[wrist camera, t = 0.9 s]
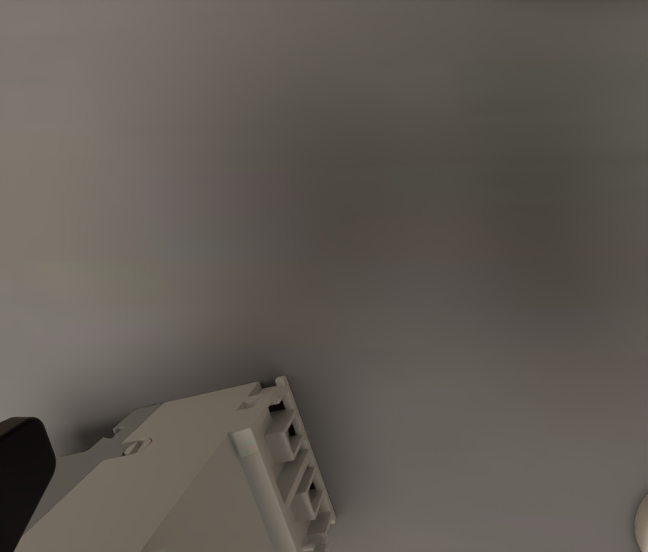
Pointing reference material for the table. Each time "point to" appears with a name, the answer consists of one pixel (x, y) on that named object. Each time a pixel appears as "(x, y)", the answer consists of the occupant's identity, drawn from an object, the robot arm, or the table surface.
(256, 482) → the circuit breaker
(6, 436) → the robot arm
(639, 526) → the cream dome knob
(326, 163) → the table surface
